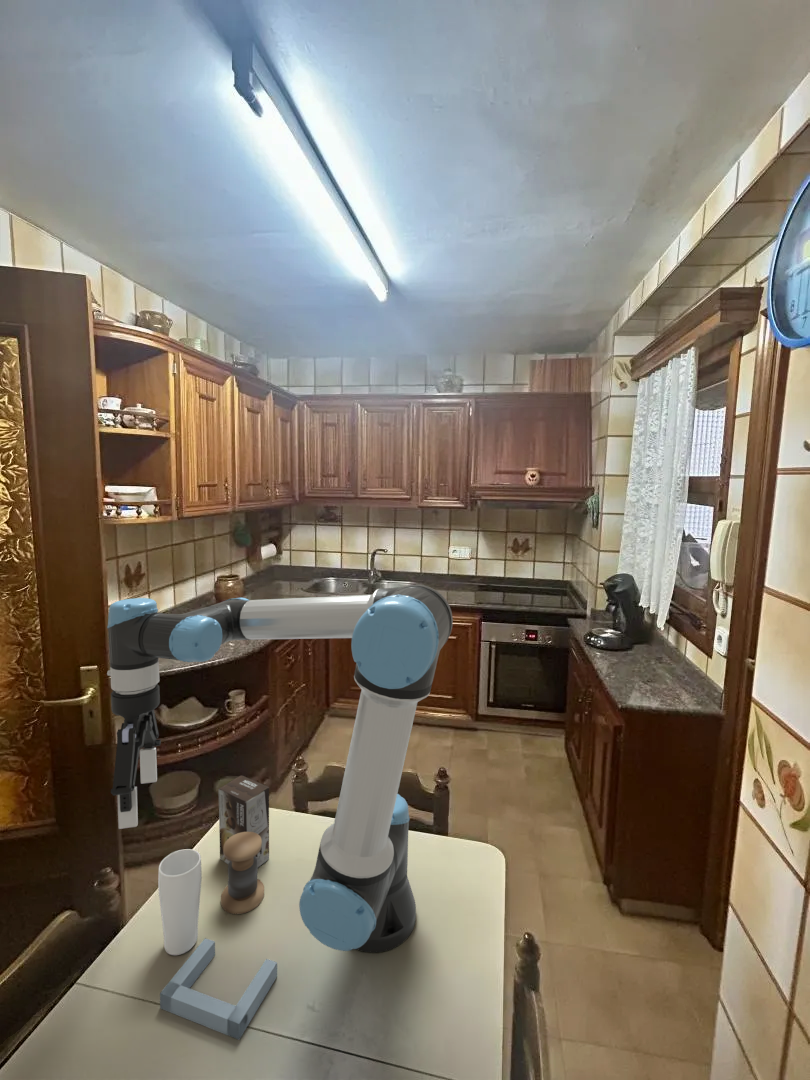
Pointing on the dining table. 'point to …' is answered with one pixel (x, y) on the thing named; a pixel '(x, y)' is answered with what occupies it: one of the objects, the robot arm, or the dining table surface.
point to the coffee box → (244, 813)
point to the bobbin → (242, 874)
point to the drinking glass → (180, 899)
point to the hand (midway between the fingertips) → (139, 802)
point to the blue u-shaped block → (209, 1008)
